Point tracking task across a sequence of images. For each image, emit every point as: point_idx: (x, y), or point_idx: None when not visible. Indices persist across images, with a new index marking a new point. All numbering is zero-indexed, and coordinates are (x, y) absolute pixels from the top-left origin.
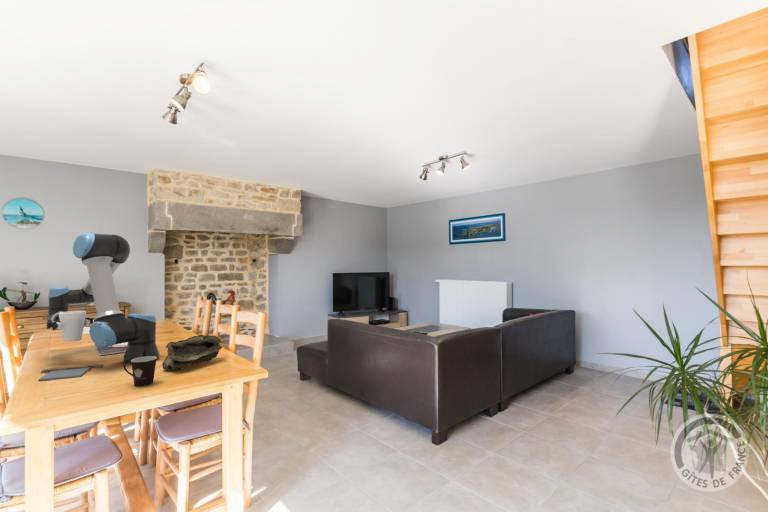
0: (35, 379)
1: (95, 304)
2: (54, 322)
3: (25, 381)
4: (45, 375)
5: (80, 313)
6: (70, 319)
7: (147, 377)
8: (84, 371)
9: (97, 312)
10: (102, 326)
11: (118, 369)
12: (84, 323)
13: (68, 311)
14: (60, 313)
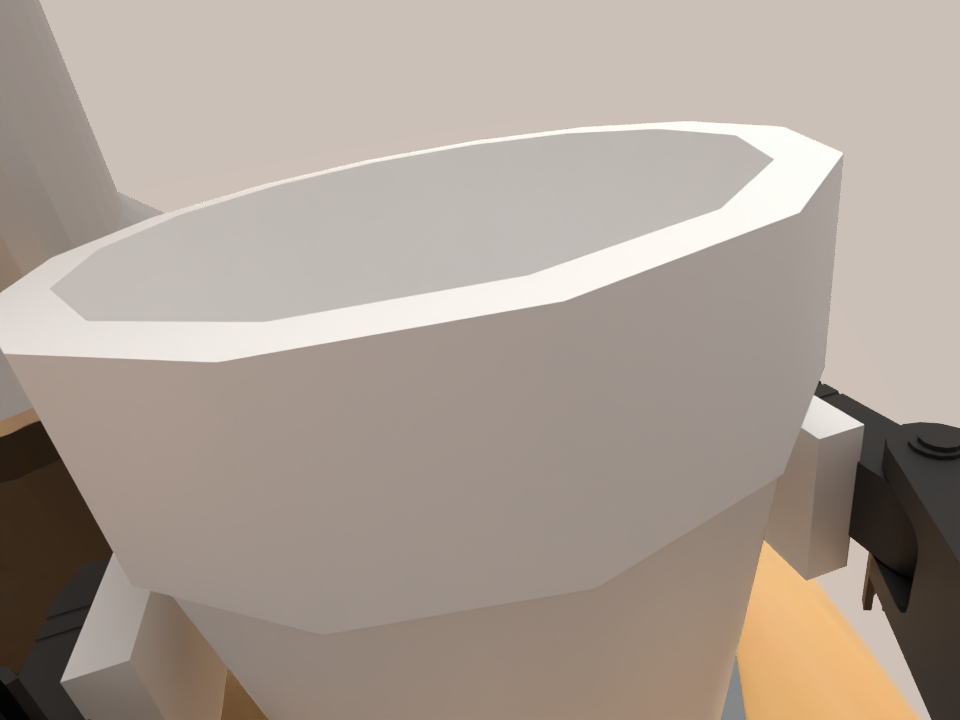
0: (788, 672)
1: (40, 19)
2: (924, 435)
3: (842, 647)
4: (732, 689)
5: (285, 201)
6: (484, 277)
7: None
8: None
9: (110, 178)
10: None
11: (230, 671)
12: (194, 715)
13: (627, 268)
14: (698, 125)
